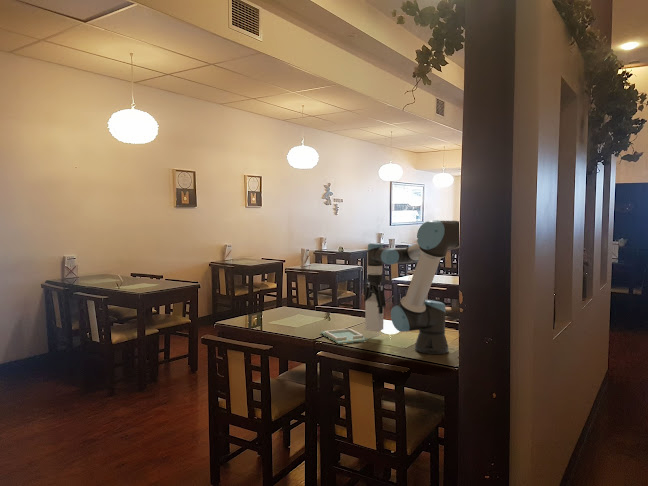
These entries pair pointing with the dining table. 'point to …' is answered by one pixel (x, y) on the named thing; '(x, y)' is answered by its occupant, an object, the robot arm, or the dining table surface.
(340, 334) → the shallow tray
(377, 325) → the milk carton
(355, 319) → the dining table surface
